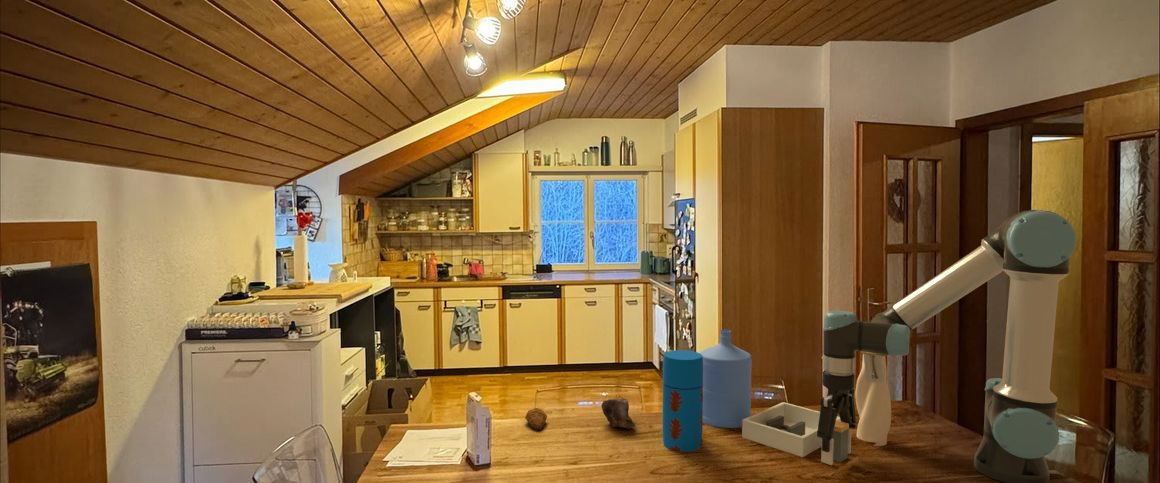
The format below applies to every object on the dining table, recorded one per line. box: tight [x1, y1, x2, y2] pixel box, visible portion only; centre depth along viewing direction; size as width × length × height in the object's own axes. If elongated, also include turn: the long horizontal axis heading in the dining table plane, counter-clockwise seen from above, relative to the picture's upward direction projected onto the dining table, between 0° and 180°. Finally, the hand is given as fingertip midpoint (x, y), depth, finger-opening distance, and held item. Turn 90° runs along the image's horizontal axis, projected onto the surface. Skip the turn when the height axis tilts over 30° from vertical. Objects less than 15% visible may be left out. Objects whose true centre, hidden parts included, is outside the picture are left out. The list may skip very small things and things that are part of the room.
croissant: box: [524, 407, 548, 431], centre depth 184 cm, size 14×7×5 cm, turn 9°
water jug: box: [699, 329, 753, 429], centre depth 184 cm, size 16×16×28 cm
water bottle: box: [854, 351, 892, 447], centre depth 168 cm, size 10×9×28 cm
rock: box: [600, 398, 636, 430], centre depth 182 cm, size 12×9×10 cm
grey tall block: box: [832, 420, 849, 464], centre depth 156 cm, size 4×4×10 cm
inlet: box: [766, 415, 805, 436], centre depth 172 cm, size 8×8×4 cm
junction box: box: [741, 401, 841, 458], centre depth 171 cm, size 18×22×6 cm
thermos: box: [662, 349, 703, 453], centre depth 167 cm, size 11×11×25 cm
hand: (836, 457), depth 157 cm, fingers open, 9 cm apart
